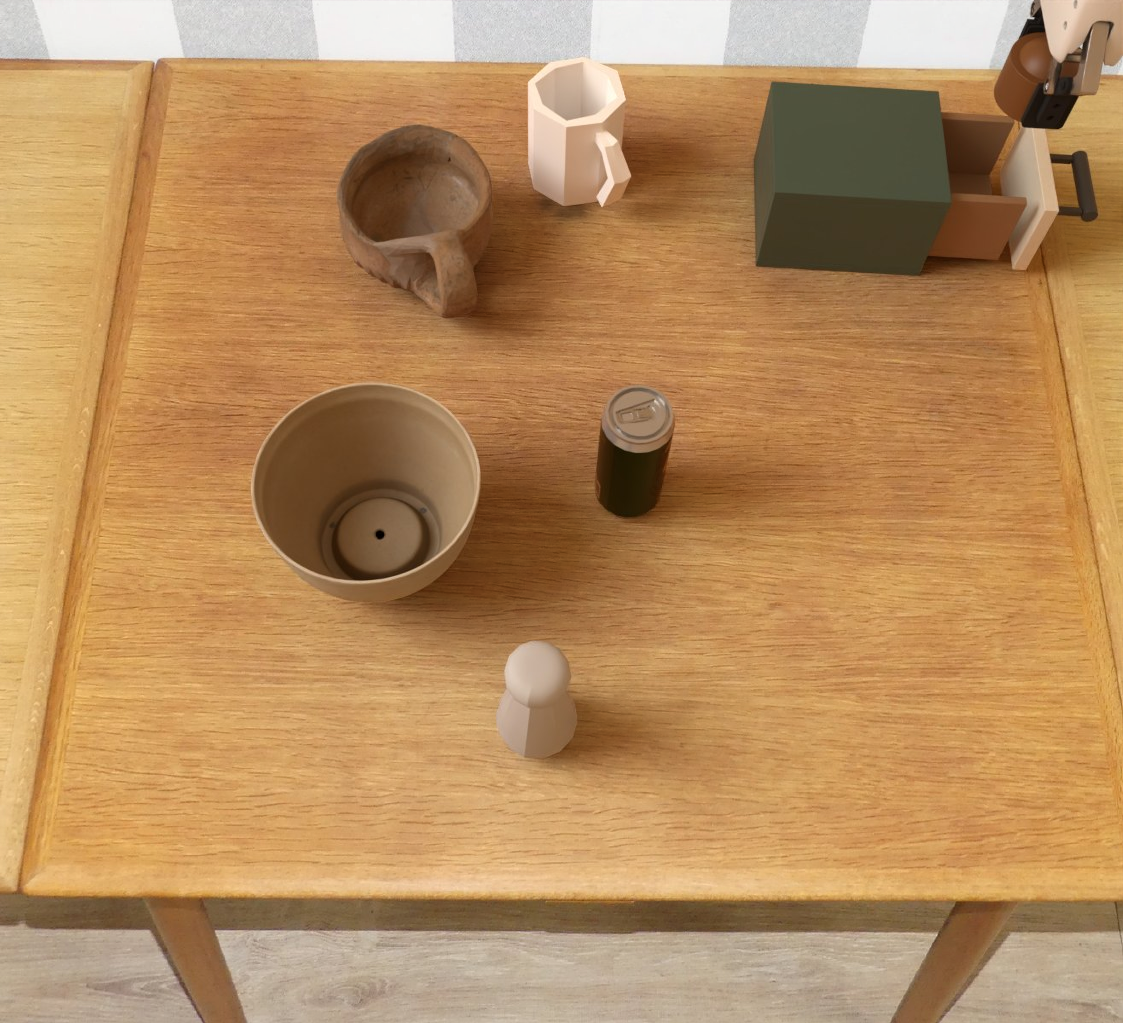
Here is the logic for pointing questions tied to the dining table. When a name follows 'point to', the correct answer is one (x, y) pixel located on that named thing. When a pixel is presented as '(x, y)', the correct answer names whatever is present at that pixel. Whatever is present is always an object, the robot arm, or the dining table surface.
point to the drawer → (1004, 190)
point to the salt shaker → (536, 701)
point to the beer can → (633, 450)
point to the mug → (577, 133)
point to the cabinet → (849, 178)
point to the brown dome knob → (1026, 73)
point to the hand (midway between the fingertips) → (1035, 92)
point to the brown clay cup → (419, 214)
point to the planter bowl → (367, 490)
